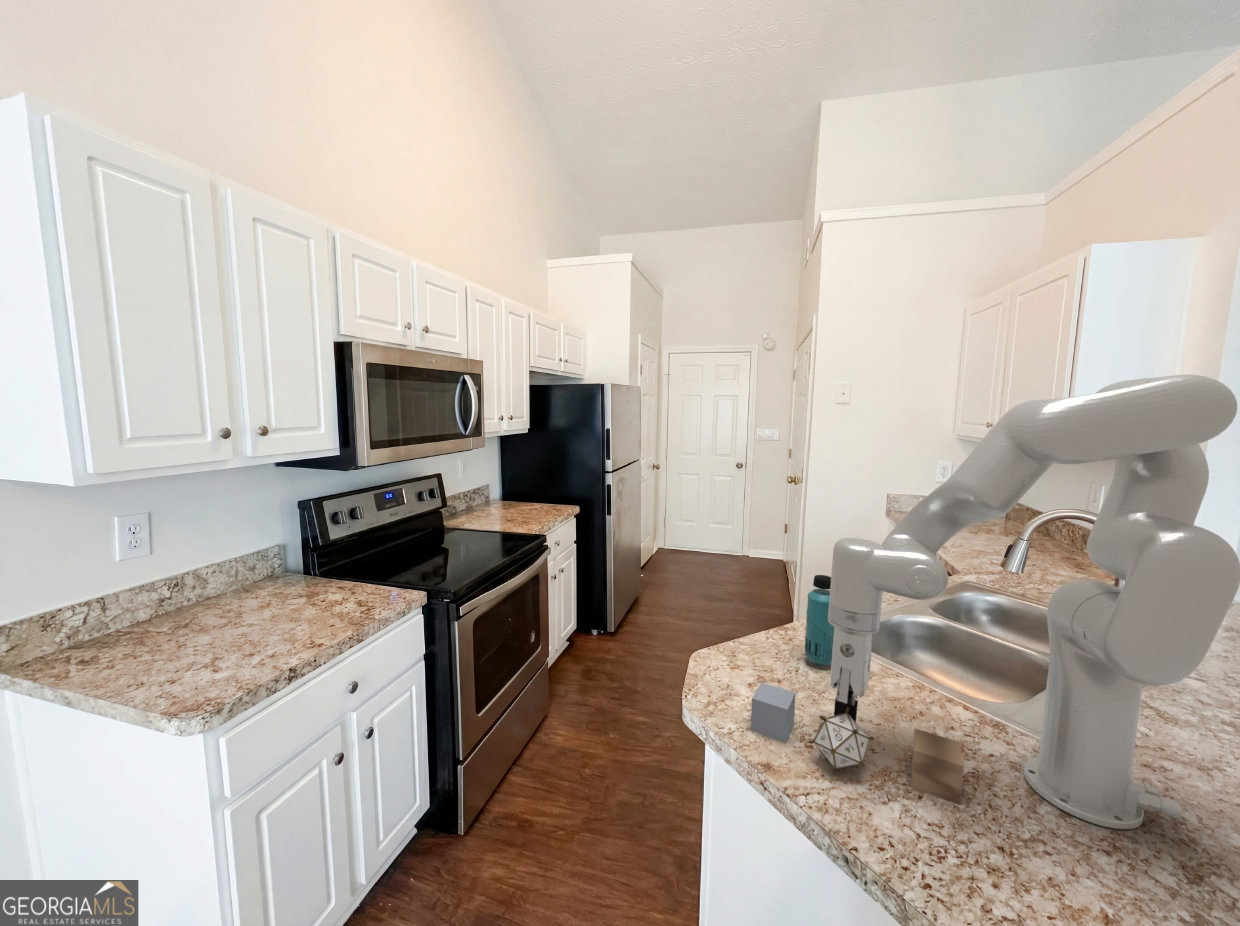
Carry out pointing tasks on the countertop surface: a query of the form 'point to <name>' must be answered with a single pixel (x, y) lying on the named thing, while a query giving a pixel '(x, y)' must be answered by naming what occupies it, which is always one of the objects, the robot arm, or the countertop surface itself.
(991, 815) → the countertop surface
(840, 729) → the game die
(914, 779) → the walnut block
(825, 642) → the beverage bottle
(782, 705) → the slate block
